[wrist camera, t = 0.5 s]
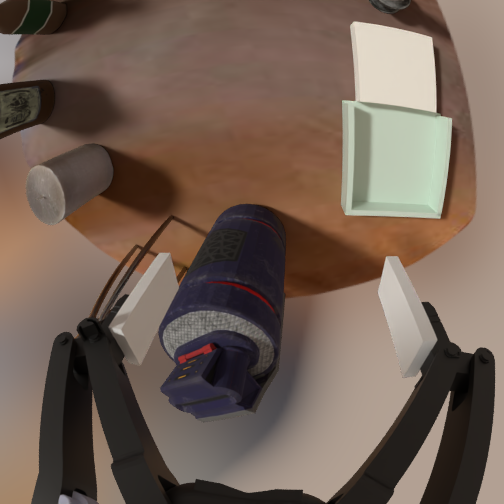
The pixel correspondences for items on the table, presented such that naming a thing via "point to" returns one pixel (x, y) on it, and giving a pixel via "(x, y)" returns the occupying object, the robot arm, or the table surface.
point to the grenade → (228, 317)
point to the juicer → (126, 276)
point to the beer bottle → (31, 16)
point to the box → (394, 160)
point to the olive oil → (24, 105)
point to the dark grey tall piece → (390, 5)
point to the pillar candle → (68, 182)
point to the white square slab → (393, 67)
